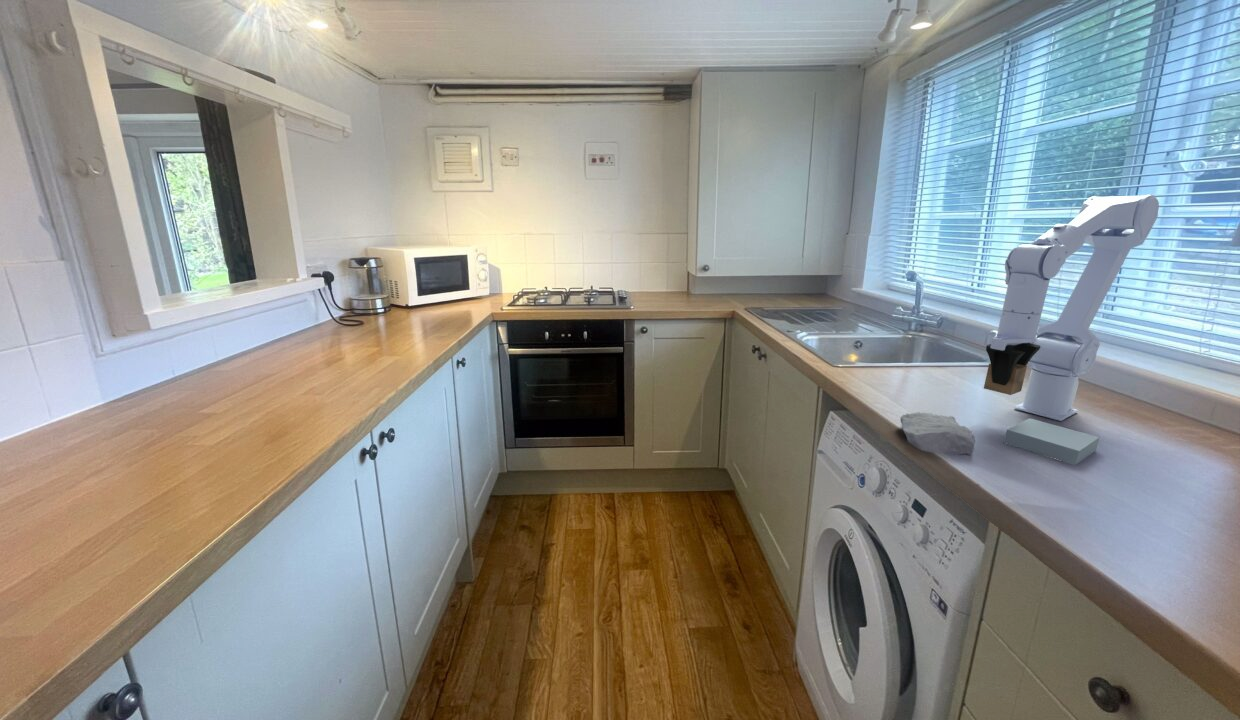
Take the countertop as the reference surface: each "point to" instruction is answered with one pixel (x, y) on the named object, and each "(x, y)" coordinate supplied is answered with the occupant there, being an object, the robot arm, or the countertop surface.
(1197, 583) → the countertop surface
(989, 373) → the walnut block
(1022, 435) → the base slab
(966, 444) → the stone block
